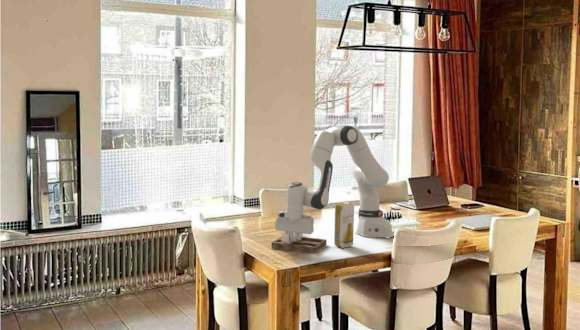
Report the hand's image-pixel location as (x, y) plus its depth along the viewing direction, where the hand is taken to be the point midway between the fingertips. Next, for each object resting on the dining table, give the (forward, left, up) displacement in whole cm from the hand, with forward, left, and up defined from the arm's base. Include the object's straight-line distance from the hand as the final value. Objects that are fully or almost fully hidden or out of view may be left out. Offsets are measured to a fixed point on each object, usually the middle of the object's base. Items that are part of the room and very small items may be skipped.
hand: (293, 240), depth 332 cm
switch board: (-1, -5, -4) cm, 7 cm away
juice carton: (-22, -16, -4) cm, 28 cm away
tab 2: (+2, -9, -3) cm, 10 cm away
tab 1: (+4, 0, -3) cm, 5 cm away
